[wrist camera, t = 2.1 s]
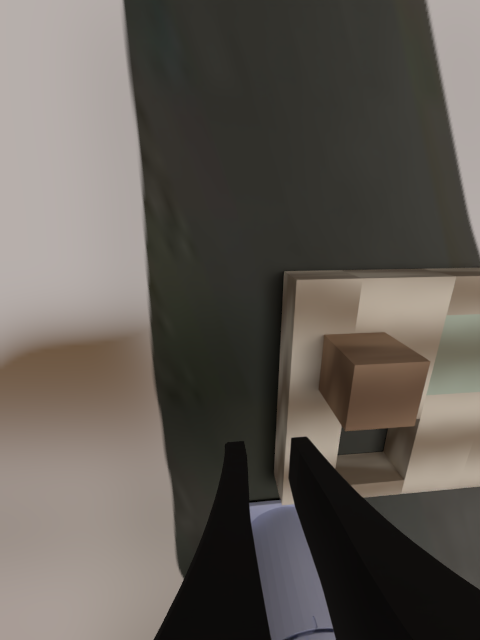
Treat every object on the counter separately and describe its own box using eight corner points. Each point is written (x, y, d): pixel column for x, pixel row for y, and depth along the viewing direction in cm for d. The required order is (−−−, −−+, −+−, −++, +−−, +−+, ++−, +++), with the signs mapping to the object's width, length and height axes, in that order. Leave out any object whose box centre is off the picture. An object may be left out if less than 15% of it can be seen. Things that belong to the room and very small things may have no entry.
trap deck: (498, 454, 27) (532, 481, 24) (273, 473, 25) (281, 505, 22) (571, 265, 21) (627, 272, 18) (284, 271, 19) (296, 279, 16)
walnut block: (375, 386, 19) (414, 426, 16) (318, 389, 19) (345, 431, 15) (384, 332, 18) (430, 361, 14) (324, 334, 18) (355, 365, 14)
